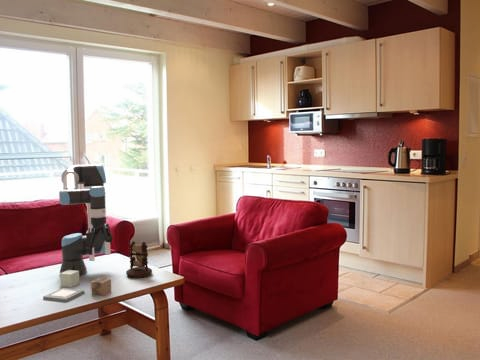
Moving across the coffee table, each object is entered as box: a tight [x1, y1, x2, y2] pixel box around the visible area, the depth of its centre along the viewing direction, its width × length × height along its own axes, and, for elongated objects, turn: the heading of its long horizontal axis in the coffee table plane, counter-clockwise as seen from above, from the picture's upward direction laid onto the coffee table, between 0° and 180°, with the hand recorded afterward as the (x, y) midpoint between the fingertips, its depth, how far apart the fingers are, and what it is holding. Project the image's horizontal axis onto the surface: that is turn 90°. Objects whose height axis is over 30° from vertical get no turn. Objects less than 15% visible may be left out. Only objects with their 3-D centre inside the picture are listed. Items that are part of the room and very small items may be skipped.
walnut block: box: [90, 277, 112, 297], centre depth 242 cm, size 7×7×7 cm
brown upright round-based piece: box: [125, 240, 153, 279], centre depth 273 cm, size 15×15×20 cm
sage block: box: [59, 270, 80, 288], centre depth 258 cm, size 7×7×7 cm
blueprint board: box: [42, 287, 85, 303], centre depth 239 cm, size 14×14×2 cm
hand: (100, 257), depth 240 cm, fingers open, 13 cm apart
